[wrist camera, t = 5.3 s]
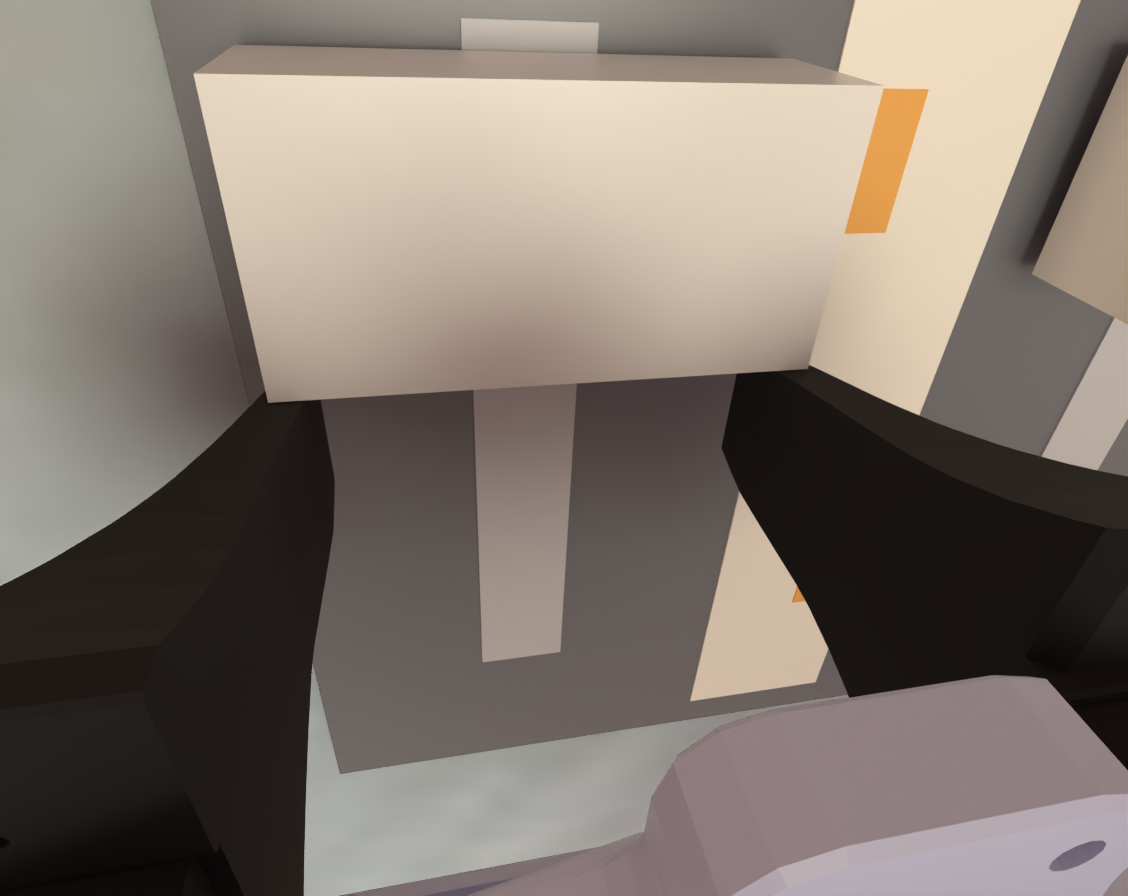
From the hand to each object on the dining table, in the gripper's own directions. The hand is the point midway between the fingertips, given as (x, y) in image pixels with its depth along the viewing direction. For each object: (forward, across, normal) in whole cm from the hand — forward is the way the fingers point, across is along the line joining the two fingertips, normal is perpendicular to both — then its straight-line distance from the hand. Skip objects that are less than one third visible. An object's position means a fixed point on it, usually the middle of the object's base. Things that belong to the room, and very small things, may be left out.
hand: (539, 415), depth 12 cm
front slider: (+1, 0, -3) cm, 4 cm away
